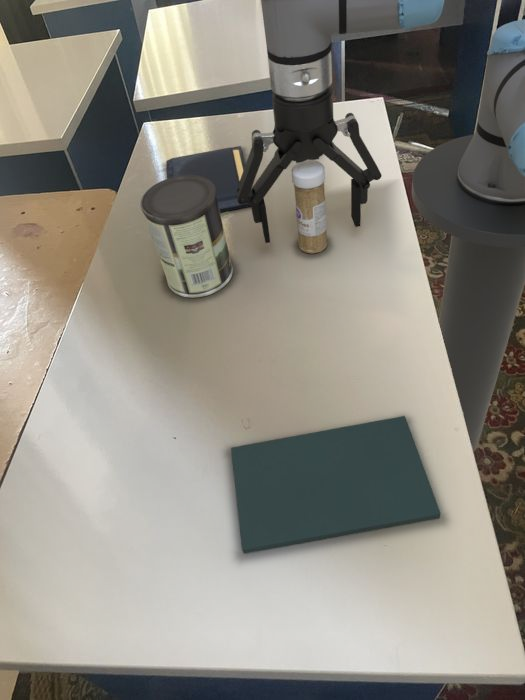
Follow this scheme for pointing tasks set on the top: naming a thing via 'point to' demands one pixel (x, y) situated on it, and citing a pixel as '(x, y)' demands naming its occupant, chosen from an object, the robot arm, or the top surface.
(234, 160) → the dark blue book
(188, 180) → the coffee can
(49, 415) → the top surface
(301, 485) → the dark green mat
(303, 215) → the sprinkles bottle
